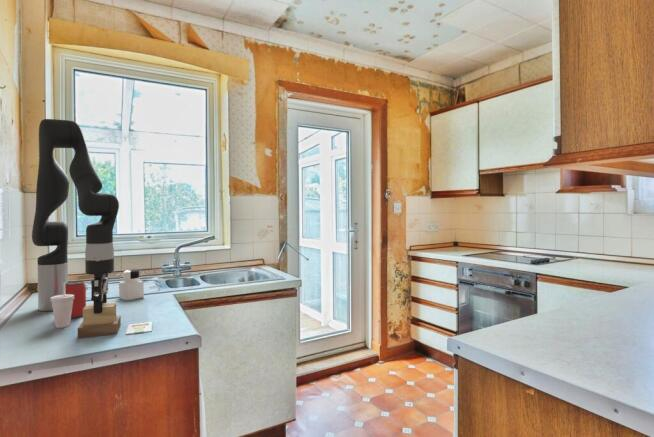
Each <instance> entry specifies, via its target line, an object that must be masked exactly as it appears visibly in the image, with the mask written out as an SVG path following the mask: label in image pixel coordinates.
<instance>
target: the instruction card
mask: <svg viewBox="0 0 654 437" xmlns="http://www.w3.org/2000/svg"><path fill="white" fill-rule="evenodd" d="M152 329H153V321H147V322H139V323H130V324H129V323H128V326H127V328H126V331H125V335H126V336H127V335H136V334H142V333H143V334H144V333H149V332H151V333H152Z"/></svg>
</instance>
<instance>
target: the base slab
mask: <svg viewBox="0 0 654 437" xmlns="http://www.w3.org/2000/svg"><path fill="white" fill-rule="evenodd" d="M121 322H122V317H121V315H116V319H115V321H114V323H105V324H96V325H86V326H83V321H82V322H81V323H80V324H79V325H78V327H77V339H84V338H92V337H100V336H110V335H112V336H113V335H117V334H118V332H119V330H120V327H121V325H122V323H121Z"/></svg>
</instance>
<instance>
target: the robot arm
mask: <svg viewBox="0 0 654 437" xmlns="http://www.w3.org/2000/svg"><path fill="white" fill-rule="evenodd" d="M55 149H73V151H74V156H73V159H72V160H71V163H70V164H69V170H68V172H69V175H70V178H71V180H72V183H73V184H74V187H75V188H76V193H77V204H78V209H79V211H80V212H81V213H82V214H83V215H85V216H89V217H100V216H101V218H100V219H99V221H98V222H96V223H91V224H88V225H87V226H86V228H85V250H84V253H85V254H84V256H85V259H84V260H85V262H84V263H85V264H84V265H85V270H84V271H85V274H87V275H93V279H92V280H91V281H90V283H91V287H90V288H91V298H90V300H91V301H92V302H93V304H94V314H100V313H102V311H103V304H102V303H108V299H107V298H108V297H107V295H108V292H109V274H111V273H113V272H114V271H115V249H114V241H113V240H114V233H113V232H114V227H115V223H116V220H117V217H118V213H119V209H120V202H119V200H118V198H117V196H116V195H114V194H113V193H107V192H102V193H101V190H103V183H102V180H101V179H100V176H99V175H98V173H97V171H96V168H95V167H94V164H93V163H92V160H91V157H90V153H89V149H88V147H87V143H86V140H85V137H84V133H83V132H82V129H81V127H80V126H79V124H78V123H77V122H76V121H73V120H66V119H56V118H55V119H54V118H43V119H42V120H41V121H40V122H39V126H38V170H37V179H36V187H35V188H36V190H35V192H36V194H35V200H36V201H35V212H34V218H33V224H32V230H31V240H32V243H33V245H34V246H37V247H52V246H53V247H55V246H56V248H55V249H54V250H52V251H50V252H48V253H46V254H43V255H41V256H38V257H37V303H38V304H37V308H38V309H37V310H38V311H39V312H49V311H52V312H53V307H52V301H50V298H51V297H53V296H57V295H63V283H67V282H69V277H68V276H69V271H68V270H69V269H68V247H69V246H68V243H69V226H68V224H67V223H66V222H64V221H48V219H49V218H50V216H51V215H52V214H53V213H54V212H55V211H56V210H58V208H60V207H61V206H62V205H63V204H65V202H66V201H67V199H68V196H69V193H70V192H69V189H70V179H69V177H68V174H67V173H66V172H65V171H64V169H63V168H62V167H61V165H60V164H59V163H58V161H57V159H56V158H55V155H54V154H55V153H54V151H55ZM96 295H97V296H96Z"/></svg>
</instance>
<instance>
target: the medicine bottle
mask: <svg viewBox="0 0 654 437" xmlns="http://www.w3.org/2000/svg"><path fill="white" fill-rule="evenodd" d="M122 278H123V279H122V280H123V281H121V280H120V281H119V282H118V291H119V292H118V296H119V297H118V298H119V299H121V300H125V301H132V300H137V299H142V298H144V296H145V294H144V288H145V285H144V284H145V283H144V280H141V279H140V271H139V269H126V270H124V271H123V273H122Z"/></svg>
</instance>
